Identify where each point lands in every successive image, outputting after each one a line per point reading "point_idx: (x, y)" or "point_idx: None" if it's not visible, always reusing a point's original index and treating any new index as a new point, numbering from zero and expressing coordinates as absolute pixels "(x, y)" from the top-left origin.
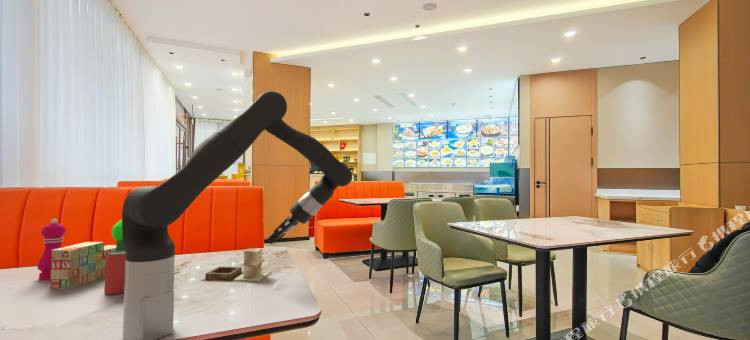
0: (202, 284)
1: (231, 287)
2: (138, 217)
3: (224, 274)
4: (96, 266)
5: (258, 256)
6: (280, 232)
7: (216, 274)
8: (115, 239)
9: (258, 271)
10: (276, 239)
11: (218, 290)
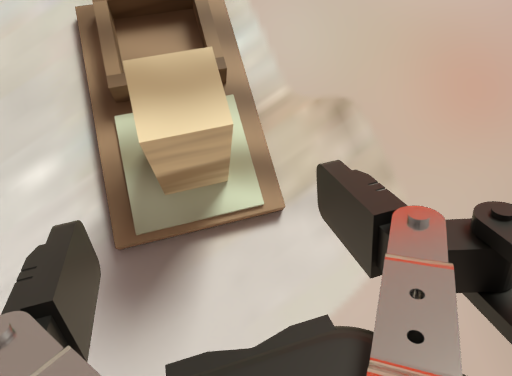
0: None
1: (71, 147)
2: None
3: (105, 65)
4: None
5: (173, 153)
6: (344, 201)
7: (99, 34)
8: None
9: (187, 182)
10: (92, 319)
11: (25, 123)
